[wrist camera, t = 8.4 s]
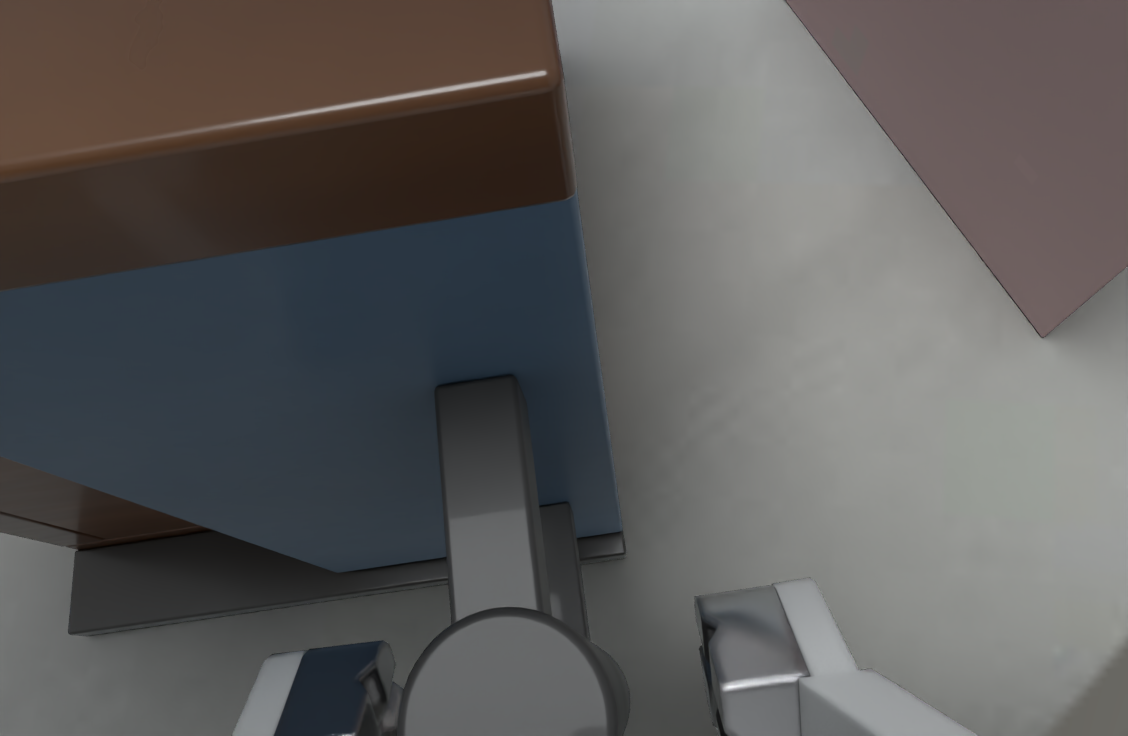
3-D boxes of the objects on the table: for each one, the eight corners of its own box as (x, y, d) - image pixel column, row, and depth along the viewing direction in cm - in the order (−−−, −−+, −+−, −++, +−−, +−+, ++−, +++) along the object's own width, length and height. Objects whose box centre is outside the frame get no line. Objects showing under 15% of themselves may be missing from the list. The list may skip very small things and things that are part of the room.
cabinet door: (655, 739, 15) (698, 941, 4) (341, 782, 16) (-601, 1105, 4) (615, 484, 17) (554, 53, 5) (334, 525, 17) (-320, 200, 6)
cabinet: (627, 558, 17) (566, 78, 4) (83, 636, 18) (-1891, 488, 4) (548, 52, 22) (394, -978, 8) (125, 123, 23) (-680, -743, 9)
